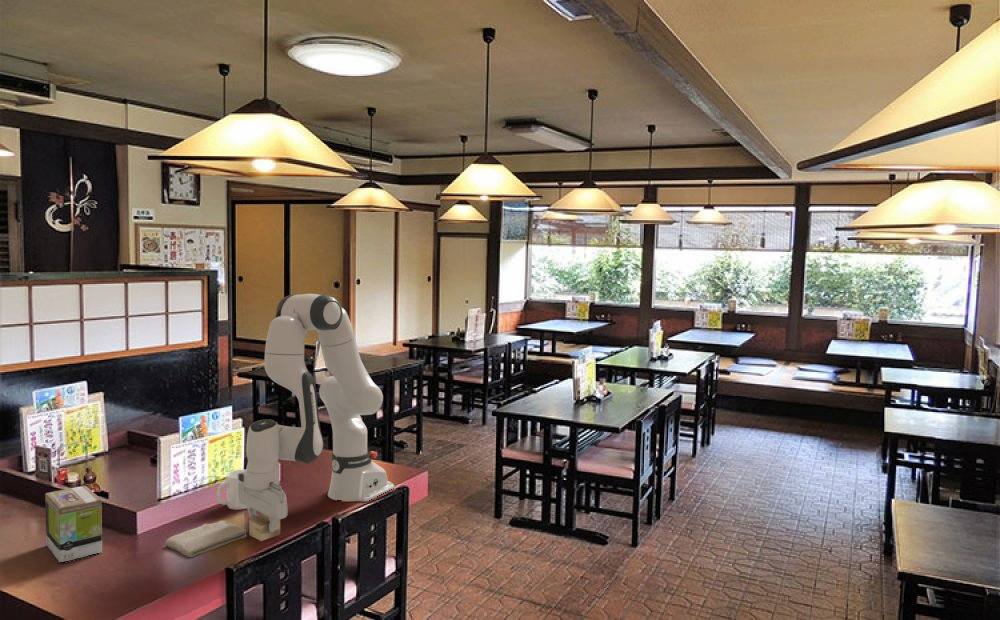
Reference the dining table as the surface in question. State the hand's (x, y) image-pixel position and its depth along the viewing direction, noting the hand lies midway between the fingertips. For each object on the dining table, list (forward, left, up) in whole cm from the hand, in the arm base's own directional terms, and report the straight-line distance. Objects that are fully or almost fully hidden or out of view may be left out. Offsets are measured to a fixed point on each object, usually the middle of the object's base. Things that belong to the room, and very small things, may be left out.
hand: (262, 526), depth 192 cm
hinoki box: (-1, 0, -3) cm, 3 cm away
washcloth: (+12, -7, -3) cm, 15 cm away
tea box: (+38, -28, -3) cm, 47 cm away
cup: (-6, -25, -3) cm, 25 cm away
